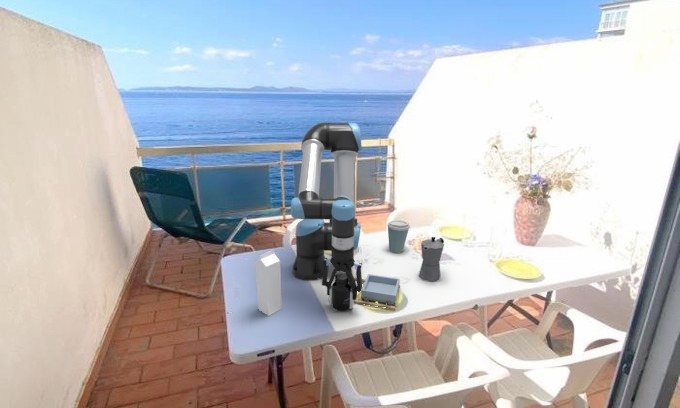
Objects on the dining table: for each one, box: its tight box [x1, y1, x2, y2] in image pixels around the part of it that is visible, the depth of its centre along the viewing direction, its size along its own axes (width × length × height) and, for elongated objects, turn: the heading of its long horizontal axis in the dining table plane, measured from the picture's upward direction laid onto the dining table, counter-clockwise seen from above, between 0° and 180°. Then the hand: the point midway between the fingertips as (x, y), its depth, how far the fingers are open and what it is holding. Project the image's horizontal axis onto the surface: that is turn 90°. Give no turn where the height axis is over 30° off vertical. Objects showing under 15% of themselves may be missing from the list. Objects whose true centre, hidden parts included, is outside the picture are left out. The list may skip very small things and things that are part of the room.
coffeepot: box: [418, 236, 445, 283], centre depth 144 cm, size 15×9×18 cm, turn 136°
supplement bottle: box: [331, 272, 352, 312], centre depth 121 cm, size 7×7×12 cm
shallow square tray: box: [360, 273, 401, 306], centre depth 131 cm, size 13×14×4 cm
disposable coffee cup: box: [386, 219, 410, 254], centre depth 168 cm, size 11×11×15 cm
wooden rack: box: [344, 272, 401, 312], centre depth 132 cm, size 23×17×2 cm
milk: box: [254, 249, 283, 317], centre depth 118 cm, size 6×6×22 cm
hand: (341, 304), depth 123 cm, fingers closed on supplement bottle, 7 cm apart
